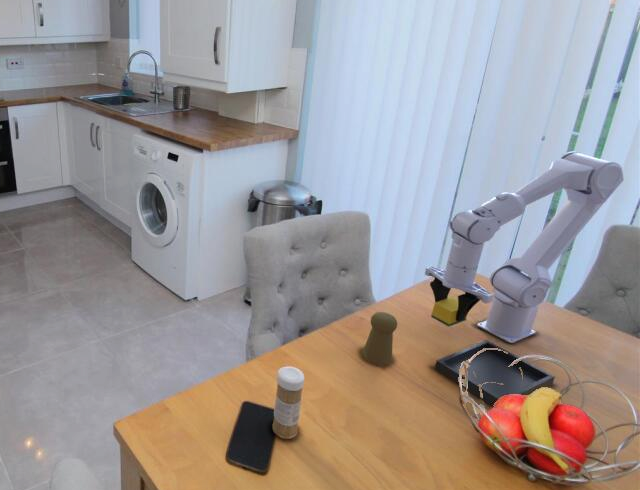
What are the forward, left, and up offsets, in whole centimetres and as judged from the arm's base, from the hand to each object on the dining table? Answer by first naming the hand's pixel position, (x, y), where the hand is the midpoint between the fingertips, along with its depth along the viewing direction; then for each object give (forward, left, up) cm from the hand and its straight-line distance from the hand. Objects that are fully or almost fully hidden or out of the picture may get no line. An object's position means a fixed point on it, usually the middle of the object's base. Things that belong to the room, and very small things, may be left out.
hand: (449, 314), depth 113 cm
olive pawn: (+21, -1, -6) cm, 22 cm away
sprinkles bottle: (+54, +7, -6) cm, 55 cm away
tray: (+5, +14, -6) cm, 16 cm away
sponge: (0, 0, -1) cm, 1 cm away
